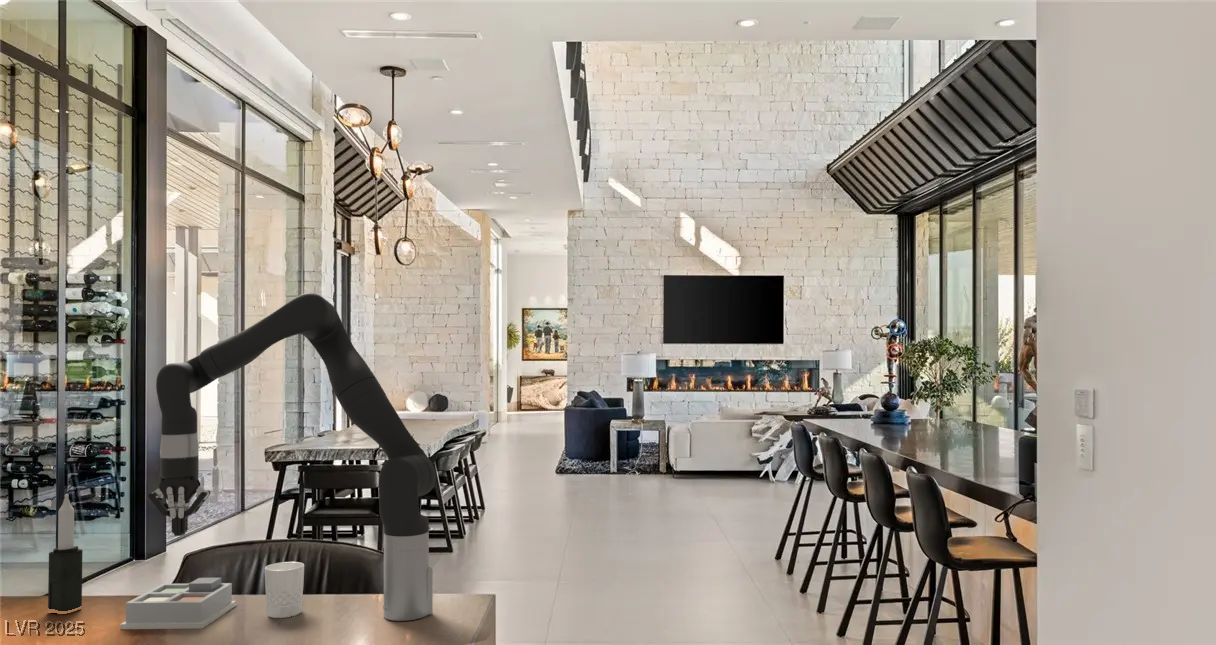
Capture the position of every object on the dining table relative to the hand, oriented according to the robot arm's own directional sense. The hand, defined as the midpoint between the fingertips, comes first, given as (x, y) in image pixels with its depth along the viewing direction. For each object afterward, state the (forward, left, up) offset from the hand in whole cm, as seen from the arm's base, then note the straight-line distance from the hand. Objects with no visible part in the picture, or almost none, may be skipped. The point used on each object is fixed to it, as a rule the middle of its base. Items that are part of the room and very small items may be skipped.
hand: (179, 535), depth 193 cm
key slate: (-4, +6, -12) cm, 14 cm away
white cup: (-17, +18, -16) cm, 29 cm away
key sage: (+2, +2, -15) cm, 15 cm away
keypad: (+1, +7, -16) cm, 17 cm away
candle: (+20, -13, -16) cm, 29 cm away
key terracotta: (0, +12, -15) cm, 19 cm away
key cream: (+6, +7, -15) cm, 18 cm away
